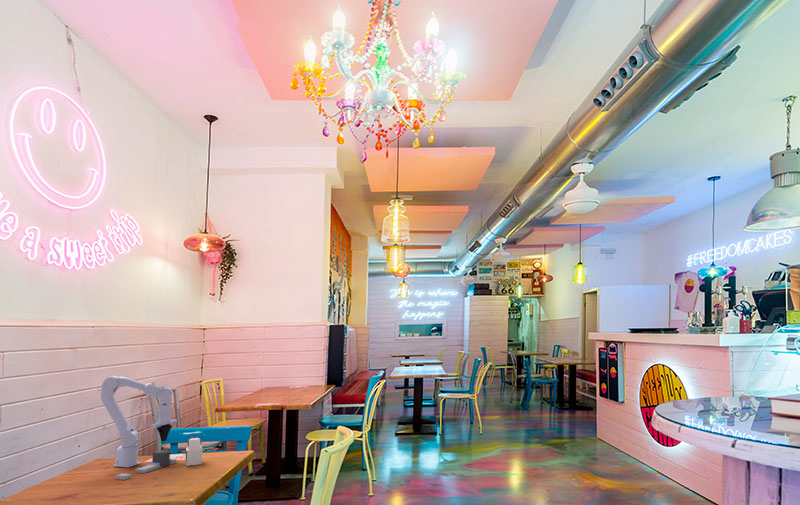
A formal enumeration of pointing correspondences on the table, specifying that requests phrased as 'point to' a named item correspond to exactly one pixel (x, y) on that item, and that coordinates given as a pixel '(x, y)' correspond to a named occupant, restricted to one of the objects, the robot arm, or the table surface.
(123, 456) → the robot arm
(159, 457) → the grey tapered block
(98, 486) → the table surface
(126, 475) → the flanged white bar
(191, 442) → the medicine bottle
